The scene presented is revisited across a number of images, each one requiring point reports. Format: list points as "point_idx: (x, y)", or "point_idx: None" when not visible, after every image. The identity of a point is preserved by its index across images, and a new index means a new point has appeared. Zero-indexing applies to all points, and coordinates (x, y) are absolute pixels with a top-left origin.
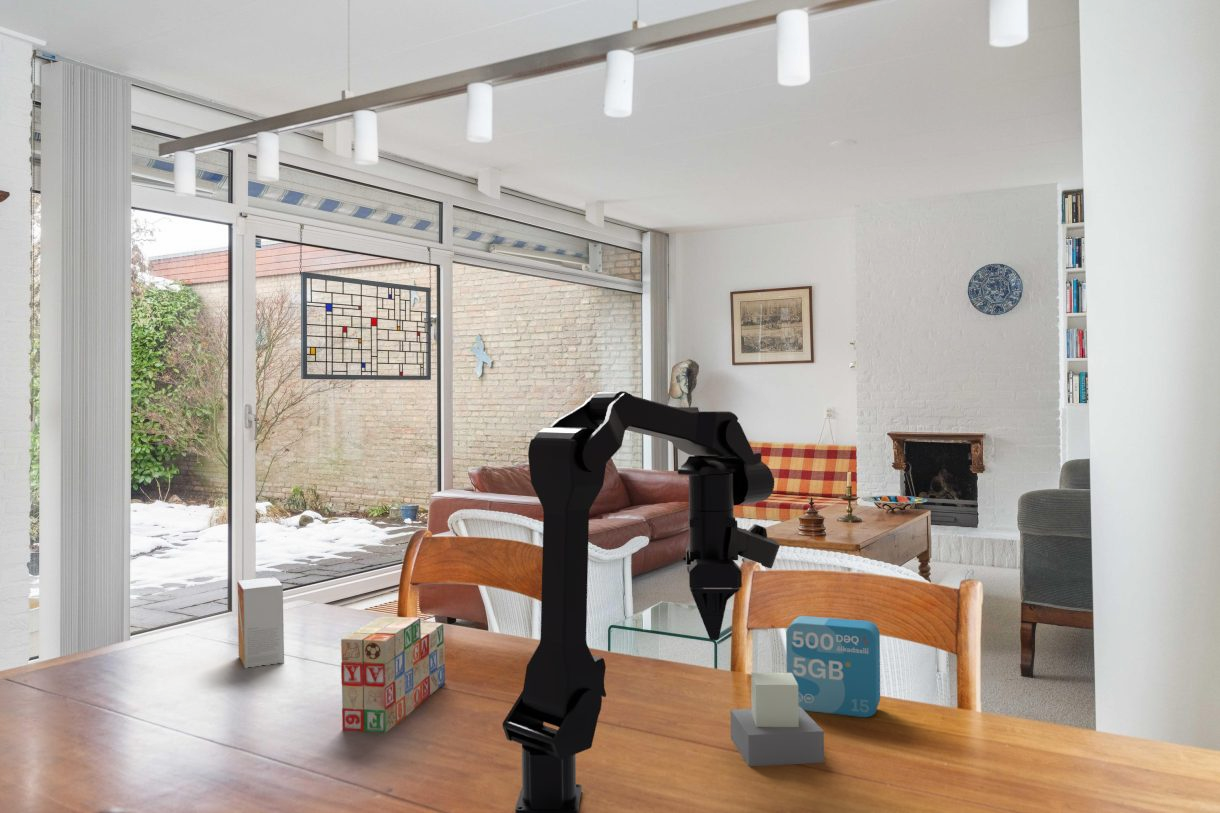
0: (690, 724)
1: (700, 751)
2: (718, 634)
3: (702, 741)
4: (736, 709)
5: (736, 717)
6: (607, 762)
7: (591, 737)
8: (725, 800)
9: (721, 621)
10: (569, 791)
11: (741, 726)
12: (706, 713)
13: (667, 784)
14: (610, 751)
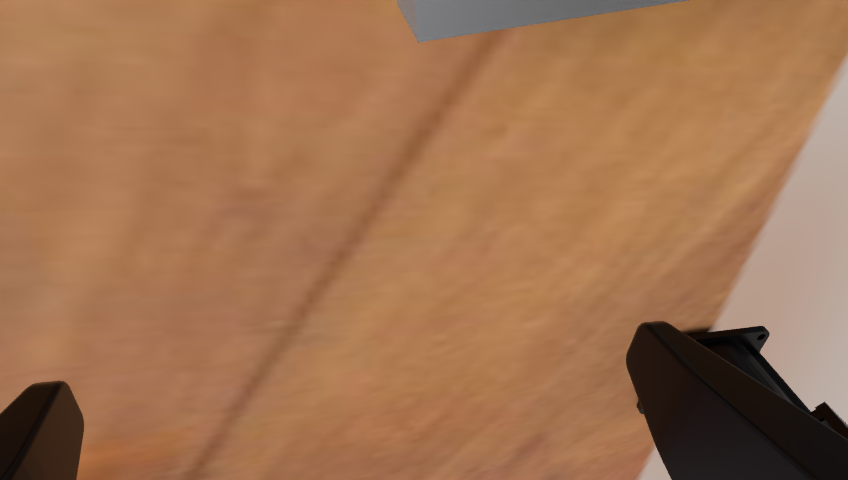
0: (256, 145)
1: (508, 116)
2: (693, 348)
3: (424, 108)
4: (416, 13)
5: (522, 24)
6: (542, 316)
7: (840, 419)
8: (835, 61)
9: (811, 422)
10: (755, 361)
11: (611, 10)
12: (108, 85)
13: (696, 194)
14: (478, 320)
